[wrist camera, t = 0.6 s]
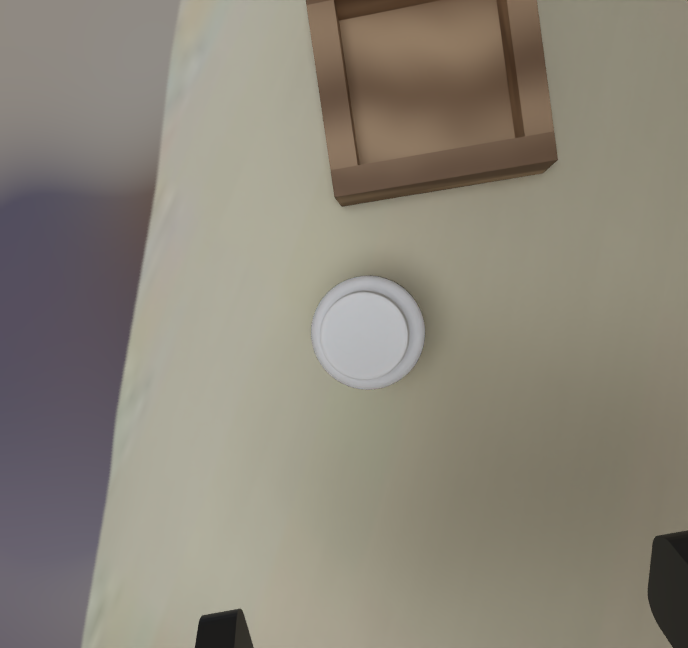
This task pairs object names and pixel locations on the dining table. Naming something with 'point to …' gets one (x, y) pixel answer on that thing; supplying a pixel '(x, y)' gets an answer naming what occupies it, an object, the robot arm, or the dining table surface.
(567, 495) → the dining table surface
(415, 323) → the supplement bottle
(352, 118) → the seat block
